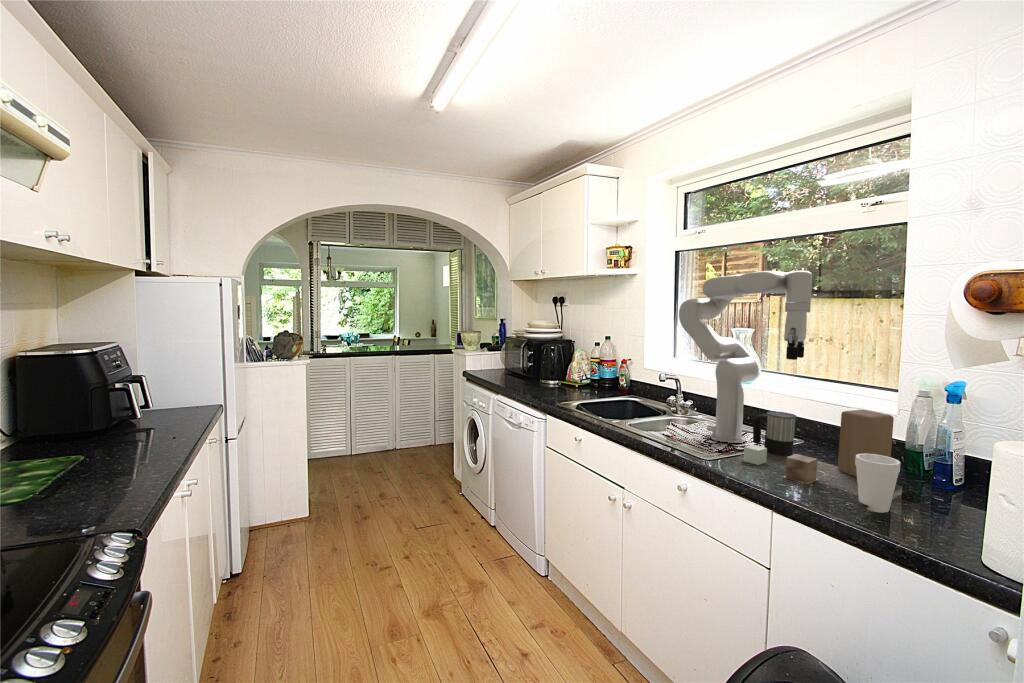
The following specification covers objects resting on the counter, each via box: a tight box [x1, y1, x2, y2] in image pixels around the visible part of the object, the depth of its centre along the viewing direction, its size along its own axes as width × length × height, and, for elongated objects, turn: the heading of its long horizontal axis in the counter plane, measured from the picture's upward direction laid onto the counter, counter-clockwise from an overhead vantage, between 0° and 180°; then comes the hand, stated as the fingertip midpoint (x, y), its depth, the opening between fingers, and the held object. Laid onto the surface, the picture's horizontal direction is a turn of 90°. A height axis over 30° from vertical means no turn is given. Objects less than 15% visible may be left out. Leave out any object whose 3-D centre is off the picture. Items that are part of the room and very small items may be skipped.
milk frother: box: [746, 410, 797, 457], centre depth 176 cm, size 14×16×15 cm
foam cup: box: [855, 454, 902, 514], centre depth 133 cm, size 10×9×13 cm
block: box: [837, 409, 895, 477], centre depth 156 cm, size 10×10×20 cm
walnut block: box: [785, 453, 818, 484], centre depth 151 cm, size 6×6×6 cm
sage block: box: [743, 444, 768, 466], centre depth 167 cm, size 5×5×6 cm
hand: (795, 358), depth 174 cm, fingers open, 9 cm apart
